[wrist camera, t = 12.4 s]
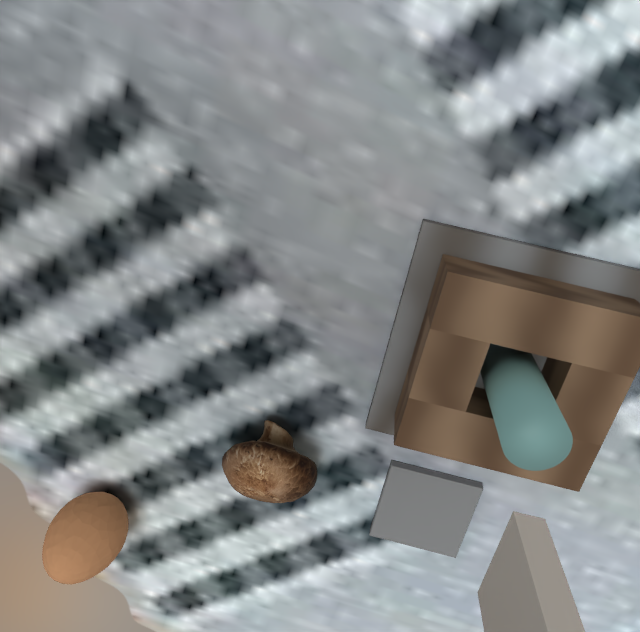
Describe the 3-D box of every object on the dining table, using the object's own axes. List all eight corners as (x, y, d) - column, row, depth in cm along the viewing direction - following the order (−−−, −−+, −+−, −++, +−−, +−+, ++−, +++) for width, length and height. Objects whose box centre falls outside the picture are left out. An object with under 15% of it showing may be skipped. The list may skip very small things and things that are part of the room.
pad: (370, 528, 52) (369, 535, 51) (391, 459, 49) (391, 465, 48) (454, 551, 51) (455, 557, 51) (482, 482, 48) (483, 488, 47)
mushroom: (260, 401, 44) (246, 480, 41) (340, 429, 48) (333, 504, 45) (217, 424, 50) (202, 494, 47) (291, 447, 54) (282, 514, 51)
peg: (471, 376, 44) (492, 461, 34) (487, 331, 42) (514, 405, 32) (521, 388, 44) (558, 477, 33) (539, 343, 42) (583, 422, 32)
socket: (366, 422, 48) (362, 459, 43) (423, 218, 41) (426, 235, 36) (575, 475, 47) (595, 519, 42) (670, 276, 40) (707, 301, 35)
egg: (107, 537, 57) (56, 615, 48) (65, 490, 55) (4, 561, 47) (156, 514, 55) (111, 591, 46) (113, 464, 53) (59, 534, 45)
